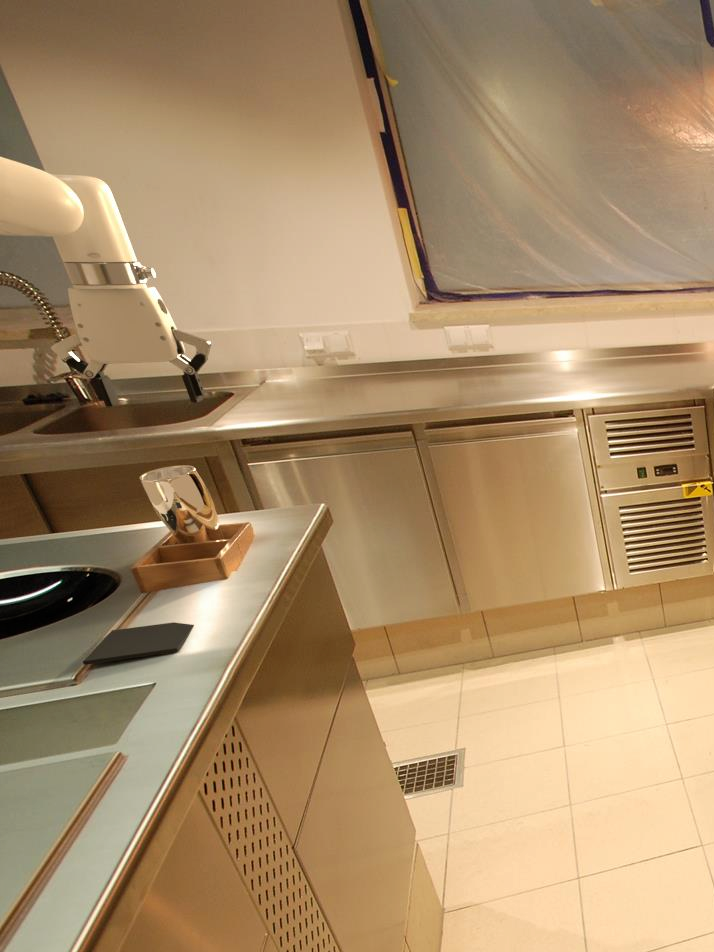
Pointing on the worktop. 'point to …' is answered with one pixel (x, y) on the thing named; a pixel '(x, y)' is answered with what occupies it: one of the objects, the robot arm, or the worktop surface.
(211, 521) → the beer glass
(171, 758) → the worktop surface
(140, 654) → the mat
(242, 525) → the wooden divided tray
